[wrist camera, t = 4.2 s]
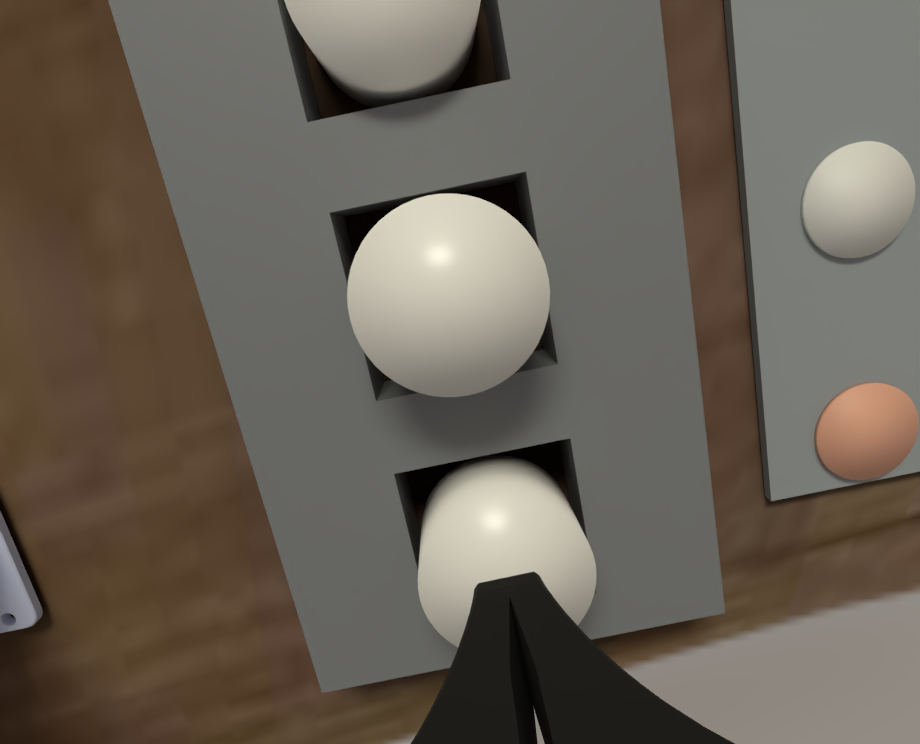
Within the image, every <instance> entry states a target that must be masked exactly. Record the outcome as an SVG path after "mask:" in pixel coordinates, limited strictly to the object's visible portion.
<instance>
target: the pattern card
mask: <svg viewBox="0 0 920 744" xmlns="http://www.w3.org/2000/svg"><path fill="white" fill-rule="evenodd" d="M724 11H725V23H726V35H727V47H728V59H729V71H730V83H731V95H732V107H733V119H734V131H735V143H736V155H737V167H738V179H739V191H740V203H741V215H742V227H743V239H744V251H745V263H746V275H747V287H748V299H749V311H750V322H751V334H752V346H753V358H754V370H755V382H756V394H757V406H758V418H759V430H760V442H761V454H762V466H763V478H764V490H765V497H766V498H768V499H769V500H770V501H775V500H780V499H785V498H790V497H795V496H800V495H805V494H810V493H815V492H820V491H825V490H830V489H835V488H840V487H845V486H850V485H855V484H860V483H865V482H870V481H875V480H880V479H885V478H890V477H895V476H900V475H905V474H910V473H915V472H920V0H724Z"/></svg>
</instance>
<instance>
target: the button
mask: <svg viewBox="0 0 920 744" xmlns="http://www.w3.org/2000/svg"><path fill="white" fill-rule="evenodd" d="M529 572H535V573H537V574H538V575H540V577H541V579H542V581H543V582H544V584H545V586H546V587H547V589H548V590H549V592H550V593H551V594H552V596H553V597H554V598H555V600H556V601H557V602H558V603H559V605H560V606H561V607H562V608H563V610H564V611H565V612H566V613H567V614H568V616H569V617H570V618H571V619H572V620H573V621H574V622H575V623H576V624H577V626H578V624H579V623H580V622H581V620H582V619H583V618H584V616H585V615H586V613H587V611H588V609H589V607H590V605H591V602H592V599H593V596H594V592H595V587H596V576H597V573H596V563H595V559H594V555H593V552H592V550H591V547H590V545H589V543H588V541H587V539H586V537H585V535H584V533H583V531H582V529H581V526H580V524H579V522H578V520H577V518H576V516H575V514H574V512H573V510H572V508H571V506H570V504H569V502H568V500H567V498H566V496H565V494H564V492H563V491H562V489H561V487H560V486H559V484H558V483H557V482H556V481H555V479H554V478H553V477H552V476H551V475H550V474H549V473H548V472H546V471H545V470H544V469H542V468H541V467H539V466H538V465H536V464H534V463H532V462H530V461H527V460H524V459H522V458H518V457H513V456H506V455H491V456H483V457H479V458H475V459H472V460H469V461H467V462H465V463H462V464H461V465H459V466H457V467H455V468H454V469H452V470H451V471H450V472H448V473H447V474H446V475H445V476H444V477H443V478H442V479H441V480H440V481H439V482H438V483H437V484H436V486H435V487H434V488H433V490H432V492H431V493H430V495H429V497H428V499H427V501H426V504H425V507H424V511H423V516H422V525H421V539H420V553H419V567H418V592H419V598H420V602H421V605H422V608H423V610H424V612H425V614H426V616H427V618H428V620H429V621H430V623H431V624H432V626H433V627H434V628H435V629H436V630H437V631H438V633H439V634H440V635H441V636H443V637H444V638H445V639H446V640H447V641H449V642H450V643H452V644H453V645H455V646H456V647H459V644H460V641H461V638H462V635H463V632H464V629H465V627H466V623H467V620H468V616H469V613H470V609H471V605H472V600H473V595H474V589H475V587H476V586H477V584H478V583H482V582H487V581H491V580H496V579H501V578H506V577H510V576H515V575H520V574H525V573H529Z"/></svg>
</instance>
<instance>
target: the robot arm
mask: <svg viewBox="0 0 920 744" xmlns="http://www.w3.org/2000/svg"><path fill="white" fill-rule="evenodd" d="M9 613H10V614H12V615H14V617H15V618H16V619H15V618H13V617H12V616H11V615H10V614H9ZM42 614H43V611H42V607H41V605H40V602H39V600H38V598H37V595H36V593H35V591H34V588H33V586H32V584H31V581H30V579H29V577H28V574H27V572H26V570H25V567H24V565H23V563H22V560H21V558H20V556H19V553H18V551H17V549H16V546H15V544H14V542H13V539H12V537H11V535H10V532H9V530H8V528H7V525H6V523H5V521H4V518H3V516H2V514H1V511H0V633H4V632H9V631H14V630H19V629H24V628H28V627H31V626H33V625H34V624H35V623H36V622H37V621H38V620H39V619H40V618H41V617H42ZM533 706H534V707H533ZM534 709H535V713H536V716H537V719H538V723H539V726H540V729H541V732H542V736H543V739H544V742H545V744H734V743H732V742H731V741H729V740H727V739H725V738H723V737H721V736H720V735H718V734H716V733H714V732H712V731H711V730H709V729H707V728H705V727H703V726H702V725H700V724H699V723H697V722H696V721H694V720H693V719H691V718H689V717H688V716H686V715H685V714H683V713H682V712H680V711H679V710H677V709H675V708H674V707H672V706H671V705H669V704H668V703H666V702H664V701H663V700H662V699H660V698H659V697H658V696H656V695H655V694H654V693H652V692H651V691H650V690H648V689H647V688H646V687H644V686H643V685H641V684H640V683H639V682H638V681H637V680H635V679H634V678H633V677H632V676H630V675H629V674H628V673H627V672H625V671H624V670H623V669H622V668H621V667H620V666H618V665H617V664H616V663H615V662H614V661H613V660H612V659H610V658H609V657H608V656H607V655H606V654H605V653H604V652H603V651H602V650H601V649H600V648H599V647H598V646H597V645H596V644H595V643H594V642H593V641H592V640H591V639H590V638H589V637H588V636H587V635H586V634H585V633H584V632H583V631H582V630H581V629H580V628H579V627H578V626H577V624H576V623H575V622H574V621H573V620H572V619H571V618H570V617H569V616H568V614H567V613H566V612H565V611H564V610H563V608H562V607H561V606H560V605H559V603H558V602H557V601H556V600H555V598H554V597H553V596H552V594H551V593H550V592H549V590H548V589H547V587H546V586H545V584H544V582H543V581H542V579H541V577H540V575H538V574H537V573H535V572H529V573H525V574H520V575H515V576H510V577H506V578H501V579H496V580H491V581H487V582H482V583H478V584H477V586H476V587H475V589H474V595H473V600H472V605H471V609H470V613H469V616H468V620H467V623H466V627H465V629H464V632H463V635H462V638H461V641H460V644H459V647H458V650H457V652H456V655H455V658H454V660H453V662H452V665H451V667H450V669H449V672H448V674H447V676H446V679H445V681H444V683H443V686H442V688H441V690H440V692H439V694H438V696H437V698H436V700H435V702H434V704H433V706H432V708H431V710H430V712H429V714H428V715H427V717H426V719H425V721H424V723H423V724H422V726H421V728H420V730H419V731H418V733H417V735H416V736H415V738H414V739H413V741H412V743H411V744H537V736H536V727H535V716H534Z"/></svg>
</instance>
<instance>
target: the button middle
mask: <svg viewBox="0 0 920 744" xmlns="http://www.w3.org/2000/svg"><path fill="white" fill-rule="evenodd" d="M347 303H348V311H349V317H350V321H351V325H352V328H353V331H354V334H355V336H356V338H357V340H358V342H359V344H360V346H361V347H362V349H363V351H364V352H365V354H366V355H367V357H368V358H369V359H370V360H371V361H372V363H373V364H374V365H375V366H376V367H377V368H378V369H379V370H380V371H381V372H382V373H384V374H385V375H386V376H387V377H389V378H390V379H392V380H393V381H394V382H396V383H398V384H400V385H402V386H403V387H405V388H407V389H410V390H413V391H415V392H418V393H421V394H426V395H430V396H437V397H461V396H468V395H472V394H476V393H480V392H483V391H485V390H487V389H490V388H492V387H494V386H496V385H498V384H500V383H501V382H503V381H505V380H506V379H507V378H509V377H510V376H511V375H513V374H514V373H515V372H516V371H517V370H518V369H519V368H520V367H521V366H522V365H523V364H524V363H525V362H526V361H527V359H528V358H529V357H530V356H531V354H532V353H533V351H534V350H535V348H536V346H537V345H538V343H539V341H540V338H541V336H542V334H543V332H544V329H545V325H546V322H547V319H548V313H549V307H550V286H549V278H548V273H547V269H546V265H545V262H544V260H543V257H542V254H541V252H540V250H539V248H538V247H537V245H536V243H535V241H534V240H533V238H532V237H531V235H530V234H529V233H528V231H527V230H526V229H525V228H524V227H523V226H522V225H521V224H520V223H519V222H518V220H516V219H515V218H514V217H513V216H511V215H510V214H509V213H508V212H506V211H505V210H503V209H501V208H500V207H498V206H496V205H495V204H492V203H490V202H488V201H485V200H483V199H480V198H477V197H473V196H469V195H462V194H434V195H427V196H424V197H420V198H417V199H414V200H411V201H409V202H407V203H405V204H402V205H400V206H399V207H397V208H396V209H394V210H392V211H391V212H389V213H388V214H387V215H386V216H384V217H383V218H382V219H381V220H379V221H378V223H377V224H376V225H375V226H374V227H373V228H372V229H371V230H370V231H369V233H368V234H367V235H366V237H365V238H364V240H363V241H362V243H361V245H360V247H359V249H358V250H357V252H356V254H355V257H354V260H353V263H352V265H351V269H350V274H349V278H348V288H347Z"/></svg>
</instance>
